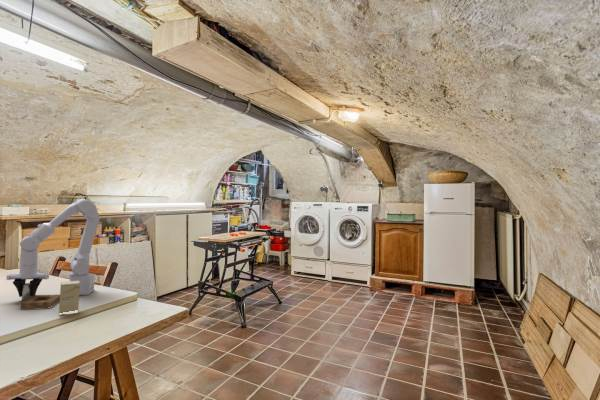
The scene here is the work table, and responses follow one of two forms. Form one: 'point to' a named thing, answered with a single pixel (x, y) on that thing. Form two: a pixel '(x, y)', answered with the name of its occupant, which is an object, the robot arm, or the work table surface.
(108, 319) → the work table surface
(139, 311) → the work table surface
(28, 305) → the socket block
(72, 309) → the skincare box
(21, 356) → the work table surface
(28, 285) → the pin
